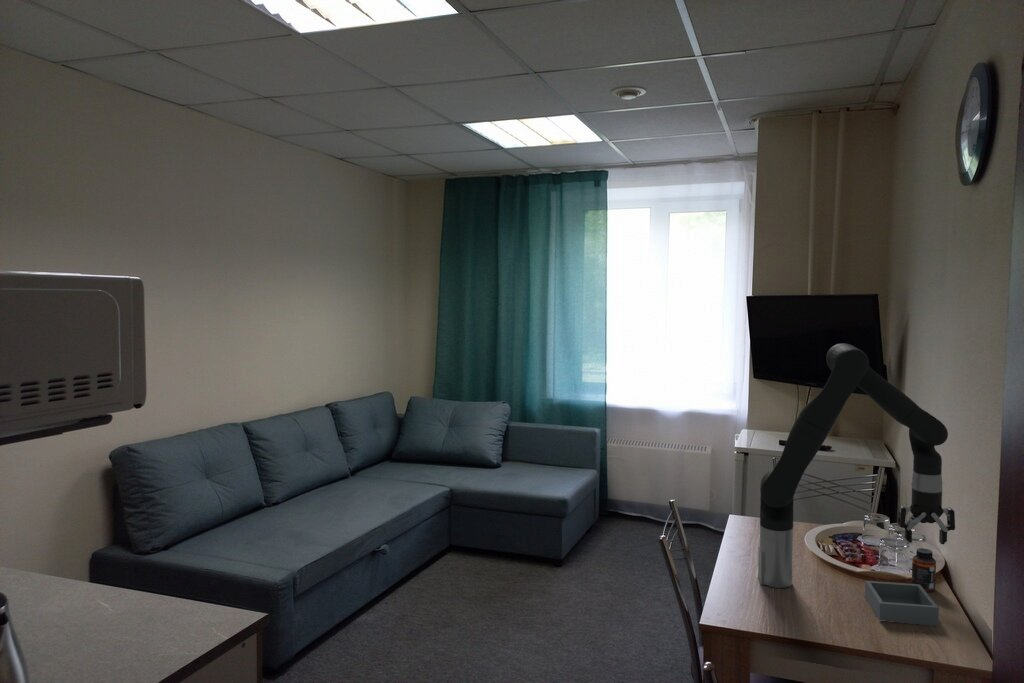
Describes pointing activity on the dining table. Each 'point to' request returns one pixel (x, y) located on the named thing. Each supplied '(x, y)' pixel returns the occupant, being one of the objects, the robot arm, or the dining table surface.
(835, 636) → the dining table surface
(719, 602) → the dining table surface
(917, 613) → the grey bin
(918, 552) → the supplement bottle
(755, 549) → the dining table surface
